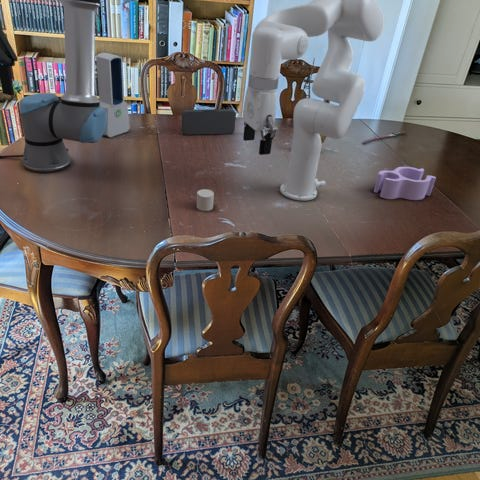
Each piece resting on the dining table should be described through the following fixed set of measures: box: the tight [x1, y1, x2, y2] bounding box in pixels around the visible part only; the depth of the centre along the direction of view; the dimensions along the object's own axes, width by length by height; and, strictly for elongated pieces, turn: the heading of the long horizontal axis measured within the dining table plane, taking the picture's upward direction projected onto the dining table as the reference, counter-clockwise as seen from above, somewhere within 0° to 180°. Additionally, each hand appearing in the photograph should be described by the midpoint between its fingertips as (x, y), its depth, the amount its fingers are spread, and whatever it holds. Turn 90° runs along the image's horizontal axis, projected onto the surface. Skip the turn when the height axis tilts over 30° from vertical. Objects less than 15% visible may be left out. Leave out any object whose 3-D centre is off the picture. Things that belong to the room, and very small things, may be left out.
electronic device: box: [95, 52, 131, 138], centre depth 181 cm, size 12×8×30 cm, turn 148°
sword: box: [363, 132, 408, 145], centre depth 213 cm, size 31×3×1 cm, turn 126°
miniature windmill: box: [290, 57, 315, 127], centre depth 211 cm, size 9×8×30 cm
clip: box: [373, 166, 437, 201], centre depth 164 cm, size 20×12×7 cm, turn 109°
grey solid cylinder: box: [196, 188, 215, 212], centre depth 143 cm, size 5×5×5 cm
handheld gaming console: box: [180, 108, 237, 135], centre depth 196 cm, size 23×3×10 cm, turn 108°
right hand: (256, 146), depth 125 cm, fingers open, 9 cm apart
